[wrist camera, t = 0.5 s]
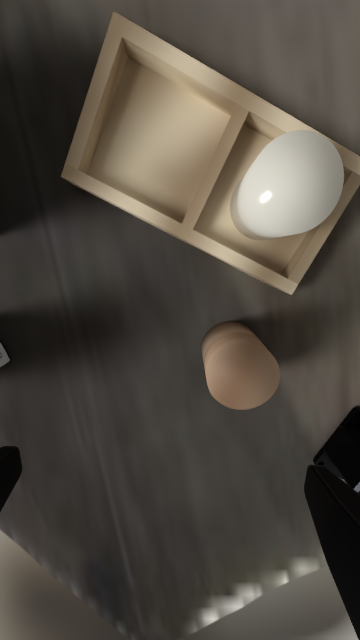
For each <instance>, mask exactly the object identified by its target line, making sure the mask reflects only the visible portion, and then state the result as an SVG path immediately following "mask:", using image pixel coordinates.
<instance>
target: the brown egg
mask: <svg viewBox="0 0 360 640" xmlns="http://www.w3.org/2000/svg"><path fill="white" fill-rule="evenodd" d="M202 354H203V361H204V367H205V373H206V379H207V385H208V388H209V391H210V393H211V394H212V396H213V397H214V398H215V399H216V400H217V401H218V402H219V403H221V404H222V405H224V406H226V407H229V408H232V409H239V410H244V409H251V408H254V407H257V406H259V405H261V404H263V403H265V402H266V401H267V400H268V399H270V398H271V396H272V395H273V394H274V393H275V391H276V389H277V387H278V385H279V381H280V369H279V365H278V363H277V361H276V359H275V358H274V356H273V355H272V354H271V353H270V352H269V350H268V349H267V348H266V347H265V346H264V345H263V344H262V342H261V341H260V340H259V339H258V338H257V337H256V335H255V334H254V333H253V332H252V331H251V330H250V329H249V328H248V327H247V326H245V325H244V324H242V323H239V322H234V321H227V322H222V323H219V324H217V325H215V326H214V327H212V328H211V329H210V330H209V331H208V332H207V333H206V335H205V337H204V339H203V342H202Z"/></svg>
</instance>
